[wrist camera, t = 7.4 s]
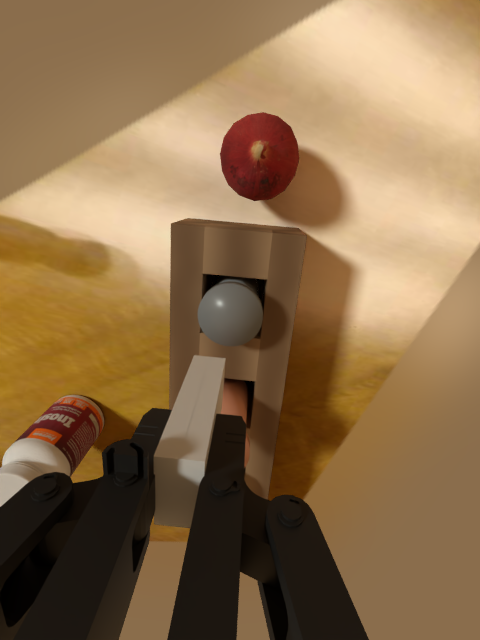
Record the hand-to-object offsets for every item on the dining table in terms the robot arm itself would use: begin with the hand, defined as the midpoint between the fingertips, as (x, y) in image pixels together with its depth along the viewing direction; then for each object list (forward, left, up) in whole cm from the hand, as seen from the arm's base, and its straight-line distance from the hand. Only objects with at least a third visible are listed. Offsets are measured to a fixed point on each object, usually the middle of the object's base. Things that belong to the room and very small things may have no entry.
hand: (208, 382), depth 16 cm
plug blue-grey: (0, 0, -17) cm, 17 cm away
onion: (+1, +11, -18) cm, 21 cm away
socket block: (0, -9, -17) cm, 19 cm away
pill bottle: (-17, -17, -18) cm, 30 cm away
